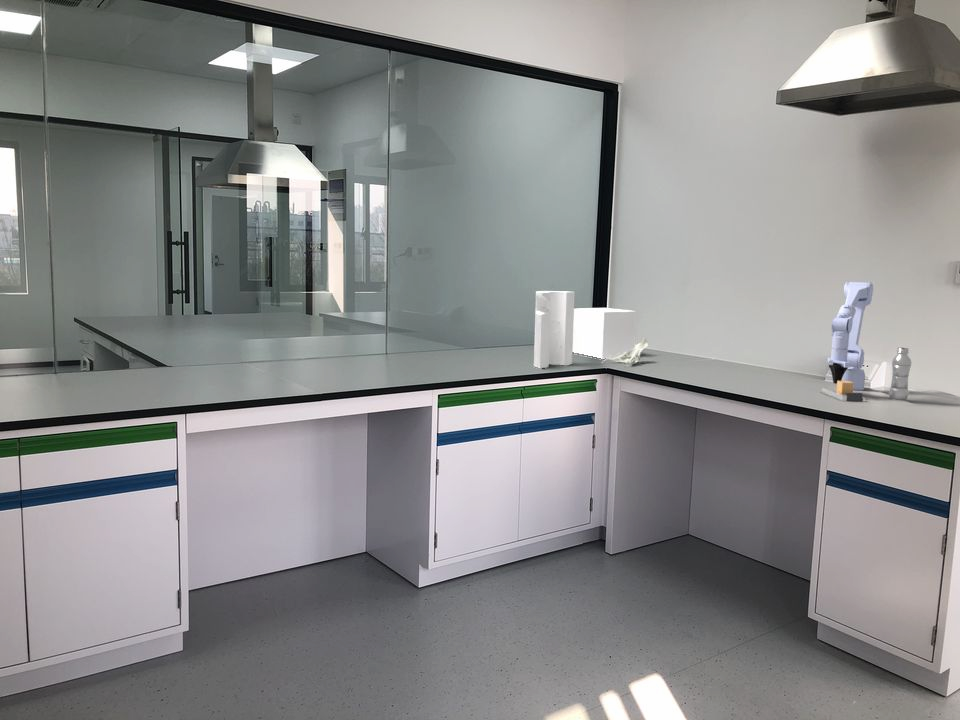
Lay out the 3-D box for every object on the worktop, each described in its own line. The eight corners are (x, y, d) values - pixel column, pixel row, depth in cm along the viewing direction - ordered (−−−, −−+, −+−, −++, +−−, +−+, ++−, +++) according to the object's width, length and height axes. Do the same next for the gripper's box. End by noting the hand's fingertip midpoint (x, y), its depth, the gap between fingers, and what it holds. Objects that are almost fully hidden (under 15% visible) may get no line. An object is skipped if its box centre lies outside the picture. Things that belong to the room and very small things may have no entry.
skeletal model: (599, 363, 372) (626, 327, 382) (608, 376, 377) (634, 340, 386) (625, 367, 360) (651, 329, 369) (633, 380, 365) (659, 342, 374)
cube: (634, 358, 397) (636, 311, 394) (602, 360, 387) (604, 312, 383) (603, 352, 419) (605, 307, 415) (572, 354, 408) (574, 308, 405)
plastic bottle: (901, 398, 293) (906, 347, 291) (911, 402, 287) (916, 349, 284) (884, 398, 293) (889, 346, 290) (894, 402, 286) (899, 349, 284)
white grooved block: (573, 365, 364) (541, 369, 351) (556, 362, 373) (524, 366, 360) (575, 292, 359) (543, 292, 346) (558, 290, 368) (526, 291, 355)
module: (847, 396, 292) (848, 380, 291) (852, 398, 288) (853, 382, 287) (836, 396, 292) (837, 380, 291) (841, 398, 288) (842, 382, 287)
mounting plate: (843, 394, 300) (844, 385, 299) (866, 403, 282) (867, 393, 281) (819, 394, 300) (820, 384, 299) (840, 403, 282) (841, 393, 281)
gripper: (821, 346, 301) (818, 380, 303) (838, 350, 287) (835, 386, 289) (838, 346, 301) (836, 380, 303) (856, 351, 287) (853, 386, 289)
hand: (836, 383), depth 296 cm, fingers closed
